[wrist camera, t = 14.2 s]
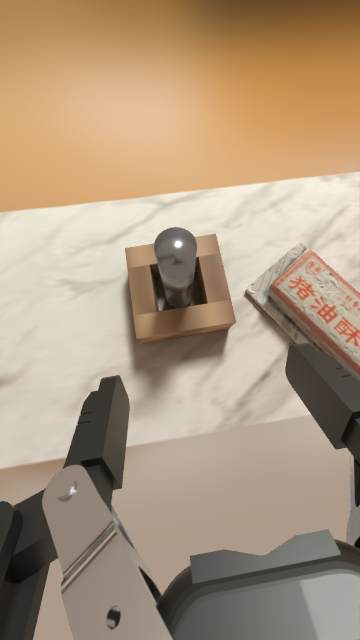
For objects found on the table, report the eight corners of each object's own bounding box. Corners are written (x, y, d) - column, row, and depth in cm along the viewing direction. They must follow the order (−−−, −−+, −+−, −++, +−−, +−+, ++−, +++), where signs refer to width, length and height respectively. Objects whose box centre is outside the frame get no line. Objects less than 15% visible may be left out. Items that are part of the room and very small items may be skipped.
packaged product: (445, 340, 23) (383, 406, 22) (401, 345, 28) (347, 400, 27) (313, 225, 26) (253, 277, 25) (294, 247, 31) (242, 291, 30)
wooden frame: (142, 343, 28) (136, 338, 24) (132, 264, 30) (125, 248, 27) (228, 328, 28) (236, 322, 24) (211, 251, 31) (215, 233, 27)
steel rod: (168, 310, 29) (157, 269, 17) (164, 286, 30) (151, 231, 18) (193, 306, 29) (200, 262, 17) (189, 281, 30) (192, 224, 18)
